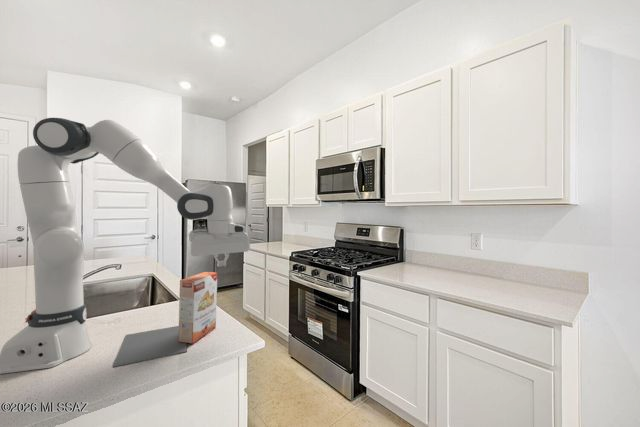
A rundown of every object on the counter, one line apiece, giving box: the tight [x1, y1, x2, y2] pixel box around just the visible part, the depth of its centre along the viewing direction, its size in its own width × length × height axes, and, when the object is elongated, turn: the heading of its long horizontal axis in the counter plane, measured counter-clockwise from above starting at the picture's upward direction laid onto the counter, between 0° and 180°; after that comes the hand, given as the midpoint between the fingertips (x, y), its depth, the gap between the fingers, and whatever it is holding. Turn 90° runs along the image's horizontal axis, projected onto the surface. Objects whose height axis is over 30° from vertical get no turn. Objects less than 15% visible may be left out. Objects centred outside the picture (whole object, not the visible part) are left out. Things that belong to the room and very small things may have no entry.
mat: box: [112, 325, 188, 368], centre depth 95 cm, size 19×22×1 cm
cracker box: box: [178, 271, 218, 345], centre depth 101 cm, size 14×6×21 cm, turn 168°
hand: (221, 265), depth 104 cm, fingers closed
